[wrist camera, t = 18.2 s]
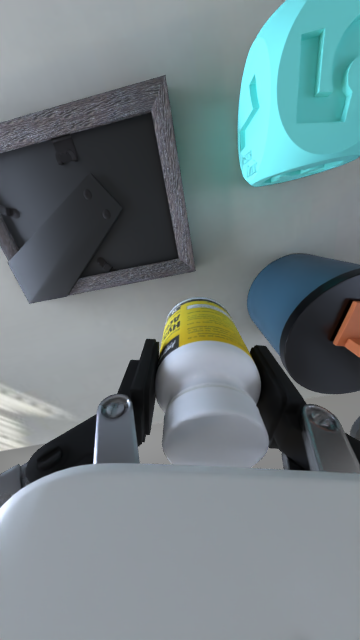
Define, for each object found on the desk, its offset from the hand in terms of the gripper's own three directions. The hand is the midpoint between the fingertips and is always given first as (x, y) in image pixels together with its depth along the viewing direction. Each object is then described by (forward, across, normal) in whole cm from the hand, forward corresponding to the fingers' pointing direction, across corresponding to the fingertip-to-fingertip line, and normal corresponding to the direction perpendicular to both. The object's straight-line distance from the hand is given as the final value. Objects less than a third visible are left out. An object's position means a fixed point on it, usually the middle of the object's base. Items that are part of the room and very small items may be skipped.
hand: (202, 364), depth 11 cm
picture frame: (+15, +12, -8) cm, 21 cm away
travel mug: (+15, -13, 0) cm, 20 cm away
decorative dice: (+15, -7, -16) cm, 23 cm away
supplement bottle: (+5, 0, 0) cm, 5 cm away
